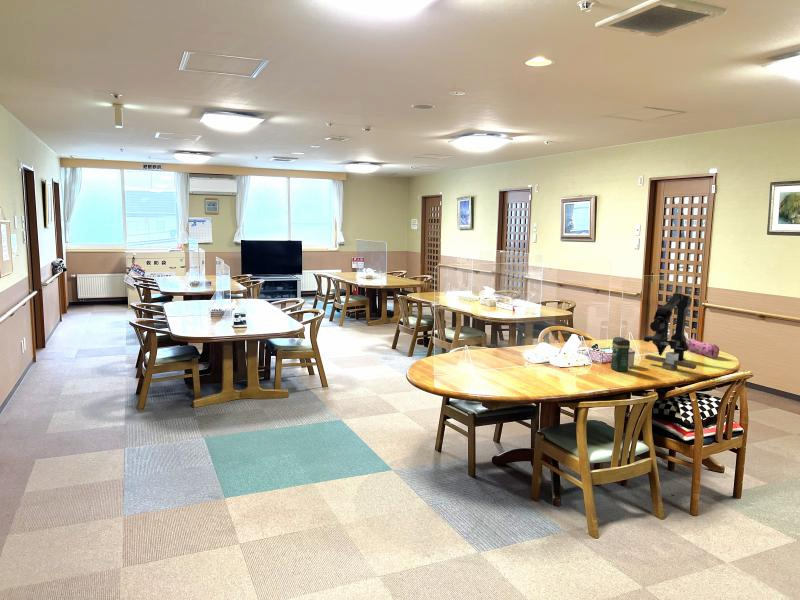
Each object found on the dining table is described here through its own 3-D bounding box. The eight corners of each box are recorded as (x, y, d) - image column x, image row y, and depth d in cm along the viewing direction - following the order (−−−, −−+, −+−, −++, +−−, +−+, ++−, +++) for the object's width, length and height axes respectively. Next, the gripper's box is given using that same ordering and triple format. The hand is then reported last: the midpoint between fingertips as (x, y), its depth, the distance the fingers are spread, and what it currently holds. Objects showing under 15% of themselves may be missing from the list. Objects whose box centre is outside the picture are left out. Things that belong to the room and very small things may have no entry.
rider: (669, 361, 343) (670, 351, 342) (677, 363, 339) (678, 353, 338) (664, 362, 339) (665, 353, 338) (673, 364, 336) (674, 354, 335)
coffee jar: (630, 371, 332) (632, 339, 329) (617, 372, 330) (619, 340, 327) (620, 367, 341) (623, 335, 338) (608, 367, 340) (610, 336, 337)
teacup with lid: (625, 362, 352) (627, 343, 350) (637, 366, 344) (639, 346, 342) (610, 364, 347) (611, 345, 345) (621, 368, 339) (623, 348, 337)
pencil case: (683, 351, 383) (684, 337, 382) (694, 350, 386) (696, 337, 384) (708, 359, 363) (710, 345, 362) (720, 358, 366) (722, 344, 364)
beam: (648, 362, 353) (649, 354, 352) (696, 372, 332) (697, 364, 331) (643, 364, 348) (644, 355, 348) (692, 374, 328) (693, 365, 327)
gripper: (640, 328, 342) (638, 354, 345) (673, 333, 329) (670, 360, 331) (649, 325, 350) (647, 351, 352) (681, 331, 336) (678, 357, 339)
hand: (660, 355), depth 344 cm, fingers closed
